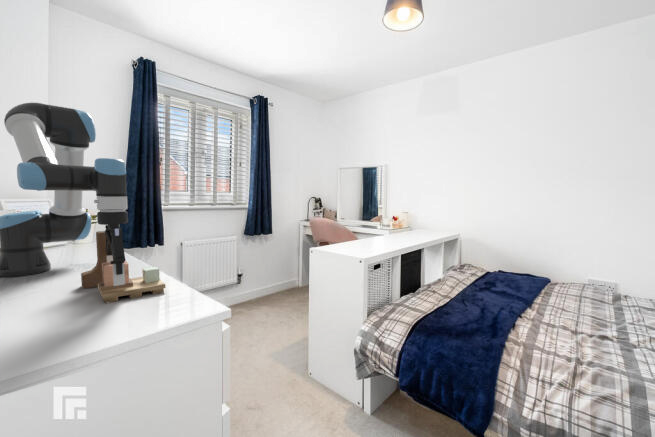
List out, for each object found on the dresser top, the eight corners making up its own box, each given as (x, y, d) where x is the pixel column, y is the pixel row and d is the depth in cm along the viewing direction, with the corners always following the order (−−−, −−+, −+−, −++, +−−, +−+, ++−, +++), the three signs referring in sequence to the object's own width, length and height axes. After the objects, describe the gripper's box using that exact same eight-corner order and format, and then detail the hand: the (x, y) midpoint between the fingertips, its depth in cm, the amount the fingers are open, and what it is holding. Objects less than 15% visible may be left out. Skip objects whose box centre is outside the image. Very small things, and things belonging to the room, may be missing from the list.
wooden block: (82, 289, 98) (79, 233, 96) (81, 285, 101) (78, 232, 99) (116, 283, 104) (113, 231, 102) (114, 280, 107) (111, 230, 105)
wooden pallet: (98, 291, 96) (97, 283, 96) (154, 281, 106) (154, 274, 106) (103, 303, 85) (102, 294, 85) (165, 291, 96) (165, 284, 96)
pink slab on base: (98, 286, 93) (97, 263, 92) (129, 281, 98) (128, 259, 97) (100, 291, 88) (99, 267, 87) (133, 286, 93) (132, 263, 93)
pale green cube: (142, 280, 99) (142, 268, 99) (156, 278, 102) (156, 266, 102) (145, 283, 96) (145, 270, 96) (159, 280, 99) (159, 268, 99)
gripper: (93, 209, 98) (96, 273, 100) (101, 213, 79) (105, 292, 81) (120, 208, 103) (123, 269, 105) (135, 212, 84) (138, 287, 86)
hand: (115, 279), depth 93 cm, fingers open, 13 cm apart
